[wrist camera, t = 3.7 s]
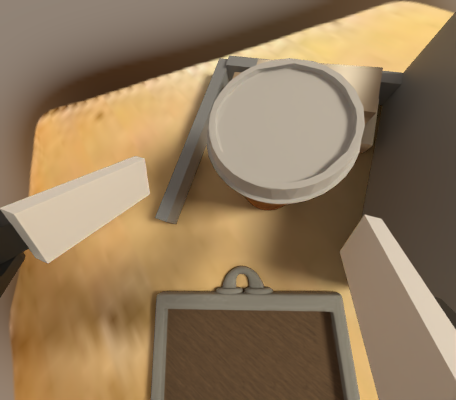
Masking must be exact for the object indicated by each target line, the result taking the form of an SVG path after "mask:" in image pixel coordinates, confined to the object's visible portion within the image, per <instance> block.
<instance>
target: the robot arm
mask: <svg viewBox="0 0 456 400" xmlns="http://www.w3.org/2000/svg"><path fill="white" fill-rule="evenodd" d="M148 195H150V190H149V184H148V177H147V170H146V164H145V159H144V158H140V157H137V156H134V157H131V158H129V159H126V160H124V161H121V162H118V163H116V164H113V165H111V166H108V167H105V168H103V169H100V170H98V171H95V172H92V173H90V174H87V175H85V176H82V177H79V178H77V179H74V180H72V181H69V182H66V183H64V184H61V185H59V186H56V187H53V188H51V189H48V190H46V191H43V192H40V193H38V194H35V195H33V196H30V197H27V198H25V199H22V200H20V201H17V202H15V203H12V204H9V205H7V206H4V207H1V208H0V297H1V295H2V294H3V293H4V291H5V289H6V288H7V286H8V285H9V283H10V281H11V280H12V278H13V277H14V275H15V274H16V272H17V270H18V269H19V267H20V266H21V264H22V263H23V261H24V259H25V254H24V253H23V252H24V251H25V250H27V249H30V251H31V252H32V254H33V255H34V256H35V258H37V259H39V260H41V261H43V262H46V263H50V262H51V261H53V260H54V259H55V258H57V257H58V256H60V255H61V254H63V253H64V252H66V251H67V250H69V249H70V248H72V247H73V246H75V245H76V244H78V243H79V242H80V241H82V240H83V239H85V238H86V237H88V236H89V235H91V234H92V233H94V232H95V231H97V230H98V229H100V228H101V227H102V226H104V225H105V224H107V223H108V222H110V221H111V220H113V219H114V218H116V217H117V216H119V215H120V214H122V213H123V212H125V211H126V210H127V209H129V208H130V207H132V206H133V205H135V204H136V203H138V202H139V201H141V200H142V199H144V198H145V197H147V196H148ZM340 255H341V258H342V262H343V266H344V270H345V274H346V277H347V281H348V285H349V289H350V292H351V296H352V300H353V304H354V308H355V311H356V315H357V319H358V323H359V326H360V330H361V334H362V338H363V341H364V345H365V349H366V353H367V357H368V360H369V364H370V368H371V372H372V375H373V379H374V383H375V387H376V391H377V394H378V398H379V400H456V313H455V312H454V311H453V310H452V309H451V308H450V307H449V306H448V305H447V304H446V303H445V302H444V301H443V300H442V299H440V298H437V297H434V296H433V295H432V293H431V292H430V290H429V289H428V287H427V286H426V284H425V283H424V281H423V280H422V278H421V277H420V275H419V274H418V272H417V271H416V269H415V268H414V266H413V265H412V264H411V262H410V261H409V259H408V258H407V256H406V255H405V253H404V252H403V250H402V249H401V247H400V246H399V244H398V243H397V241H396V240H395V238H394V237H393V235H392V234H391V232H390V231H389V229H388V228H387V226H386V225H385V223H384V222H383V220H382V219H380V218H376V217H372V216H369V215H365V214H364V216H363V217H362V219H361V220H360V222H359V223H358V225H357V226H356V228H355V229H354V231H353V232H352V234H351V235H350V237H349V238H348V240H347V241H346V243H345V244H344V246H343V247H342V249H341V250H340Z"/></svg>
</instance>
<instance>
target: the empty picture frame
mask: <svg viewBox="0 0 456 400" xmlns="http://www.w3.org/2000/svg"><path fill="white" fill-rule="evenodd" d="M239 274H245V275H246V276H247V277H248V280H249V287H247V288H245V289H244V291H243V289H242V288H240V287H236V278H237V276H238V275H239ZM151 400H360V396H359V390H358V385H357V379H356V373H355V368H354V362H353V356H352V350H351V345H350V339H349V333H348V328H347V322H346V316H345V310H344V305H343V300H342V296H341V295H340V294H339V293H337V292H283V291H273V290H272V289H271V288H269V287H264V285H263V283H262V281H261V279H260V277H259V276H258V274H257V273H256V272H255V271H254V270H252V269H251V268H248V267H246V266H238V267H236V268H233V269H232V270H231V271H230V272H229V273H228V274H227V275H226V277H225V279H224V282H223V286H222V287H219V288H217V289H216V291H163V292H160V293H158V294H157V299H156V315H155V333H154V350H153V368H152V386H151Z"/></svg>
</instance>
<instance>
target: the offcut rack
mask: <svg viewBox="0 0 456 400" xmlns="http://www.w3.org/2000/svg"><path fill="white" fill-rule="evenodd" d="M264 60H268V59H264ZM257 61H258V58H248V57H237V56H229V58H228V59H221V58H220V59H219V61H218V64H217V66H216V69H215V71H214V74H213V76H212V78H211V81H210V83H209V86H208V88H207V91H206V93H205V96H204V98H203V101H202V103H201V106H200V108H199V111H198V113H197V116H196V118H195V120H194V123H193V125H192V128H191V130H190V133H189V135H188V138H187V140H186V143H185V145H184V148H183V150H182V153H181V155H180V157H179V160H178V162H177V165H176V167H175V170H174V172H173V175H172V177H171V180H170V182H169V185H168V187H167V190H166V192H165V194H164V197H163V199H162V202H161V204H160V207H159V209H158V212H157V214H156V217H155V218H157V219H160V220H163V221H165V222H169V223H173V224H176V223H177V220H178V218H179V215H180V213H181V210H182V207H183V205H184V202H185V199H186V197H187V194H188V192H189V189H190V186H191V184H192V181H193V178H194V176H195V173H196V171H197V168H198V165H199V163H200V160H201V157H202V155H203V152H204V149H205V147H206V144H207V130H208V125H209V118H210V114H211V111H212V108H213V104H214V102H215V101H216V99H217V97H218V95H219V94H220V92H221V91H222V90H223V89H224V88H225V86H226V85H227V84H228V83H229V82H230V81H231V80H232V79H233V76H234V73H235V72H241V73H242V72H243V71H245V70H247V69H249V68H250V67H253V66H255V65H257ZM378 99H379V104H378V105H382V110H381V115H380V121H379V126H378V131H377V137H376V142H375V148H374V153H373V159H372V164H371V169H370V175H369V180H368V186H367V191H366V197H365V202H364V207H363V213H362V217H363V216H364V214H365V215H369V216H372V217H376V218H380V219H382V220H383V222H384V223H385V225H386V226H387V228H388V229H389V231H390V232H391V234H392V235H393V237H394V238H395V240H396V241H397V243H398V244H399V246H400V247H401V249H402V250H403V252H404V253H405V255H406V256H407V258H408V259H409V261H410V262H411V264H412V265H413V266H414V268H415V269H416V271H417V272H418V274H419V275H420V277H421V278H422V280H423V281H424V283H425V284H426V286H427V287H428V289H429V290H430V292H431V293H432V295H433V296H434V297H437V298H440V299H442V300H443V301H444V302H445V303H446V304H447V305H448V306H449V307H450V308H451V309H452V310H453V311H454V312H455V313H456V12H455V13H454V14H453V16H452V17H451V18H450V19H449V20H448V21H447V23H446V24H445V25H444V26H443V27H442V28H441V30H440V31H439V32H438V33H437V34H436V35H435V37H434V38H433V39H432V40H431V41H430V42H429V44H428V45H427V46H426V47H425V48H424V49H423V51H422V52H421V53H420V54H419V55H418V56H417V58H416V59H415V60H414V61H413V62H412V63H411V65H410V66H409V67H408V68H407V69H406V70H405V72H404V73H399V72H389V71H382V77H381V84H380V91H379V98H378ZM361 219H362V218H361Z"/></svg>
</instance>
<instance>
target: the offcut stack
mask: <svg viewBox="0 0 456 400" xmlns="http://www.w3.org/2000/svg"><path fill="white" fill-rule="evenodd" d="M268 61H272V60H264V59H258V61H257V65H258V64H260V63H264V62H268ZM319 64H322V63H319ZM322 65H325V66H327V67H329V68H331V69H332V70H334V71H336V72H338V73H339V74H341V75H342V76H343V77H344V78H345V79H346V80H347V81H348V82H349V83H350V84H351V85H352V86H353V87H354V88H355V90H356V92H357V94H358V97H359V99H360V101H361V103H362V105H363V108H364V121H365V128H364V131H363V135H362V139H361V145H360V152H363V153H364V152H365V151H366V150H368V149H369V148H370V147H371V146H372V145H373V140H374V133H375V126H376V118H377V111H378V104H379V99H378V98H379V91H380V84H381V77H382V70H383V68H380V67H365V66H351V65H336V64H322ZM240 73H241V72H235V73H234V76H233V79H234V78H235V77H236V76H238V75H239V74H240Z"/></svg>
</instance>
